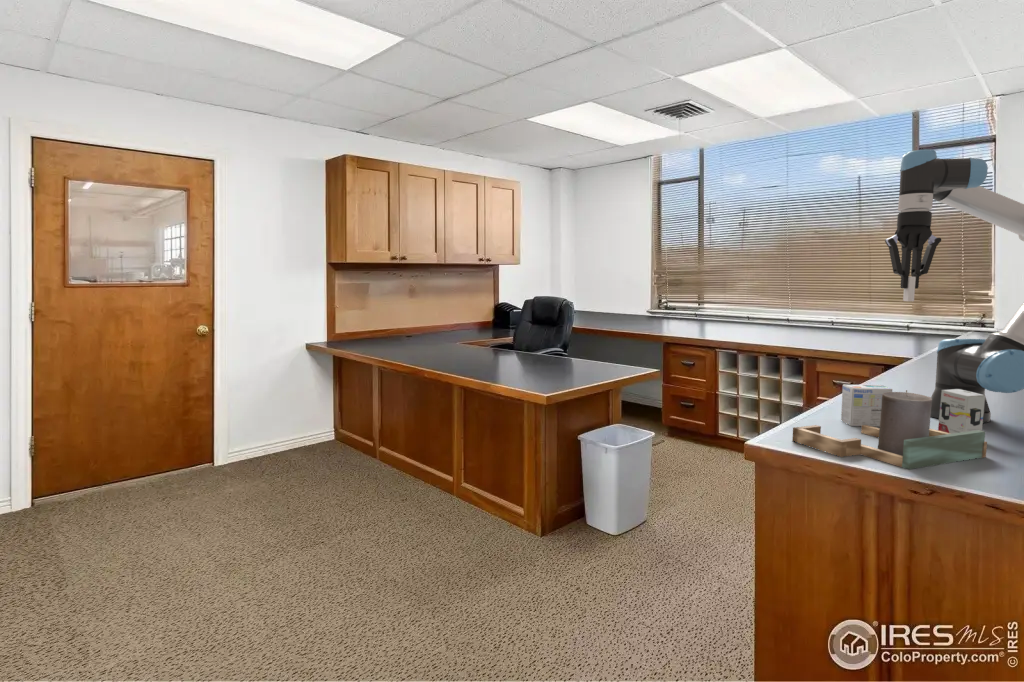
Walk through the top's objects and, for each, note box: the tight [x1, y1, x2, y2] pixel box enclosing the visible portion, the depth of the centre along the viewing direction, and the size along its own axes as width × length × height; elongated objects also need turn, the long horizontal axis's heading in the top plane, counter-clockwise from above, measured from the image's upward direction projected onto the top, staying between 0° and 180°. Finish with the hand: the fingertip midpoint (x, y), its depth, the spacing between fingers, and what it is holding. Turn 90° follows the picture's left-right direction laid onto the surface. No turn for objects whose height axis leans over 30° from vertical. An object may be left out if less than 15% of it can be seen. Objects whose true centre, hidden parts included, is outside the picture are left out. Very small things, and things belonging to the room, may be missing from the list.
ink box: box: [937, 389, 986, 434], centre depth 152 cm, size 9×5×12 cm, turn 5°
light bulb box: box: [840, 384, 893, 428], centre depth 166 cm, size 11×7×11 cm, turn 84°
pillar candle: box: [877, 390, 932, 456], centre depth 137 cm, size 10×10×15 cm
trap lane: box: [791, 424, 988, 470], centre depth 142 cm, size 26×31×6 cm
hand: (908, 301), depth 160 cm, fingers closed
